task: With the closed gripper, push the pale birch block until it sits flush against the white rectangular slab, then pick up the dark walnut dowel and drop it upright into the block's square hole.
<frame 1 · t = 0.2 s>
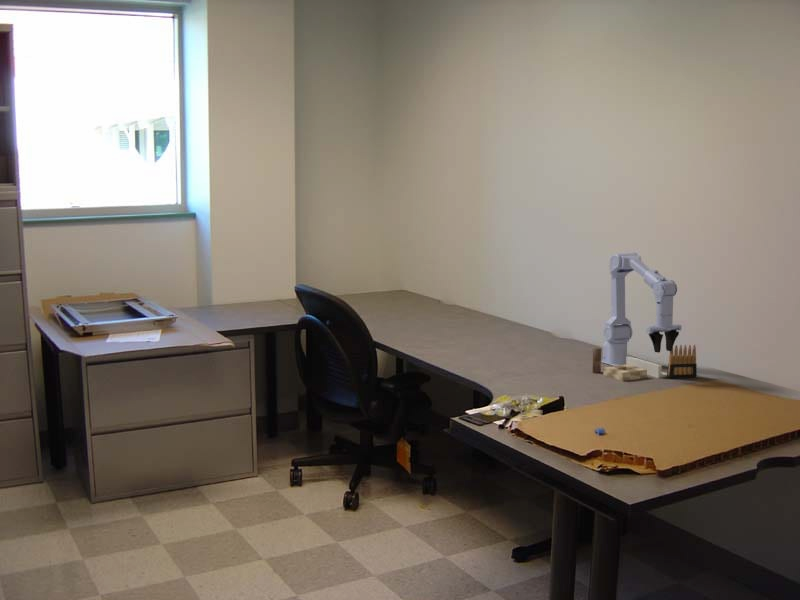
hand: (663, 351, 310), 10 cm above the table, tool pointing down, fingers open, 5 cm apart
ammunition clip: (681, 377, 313), on the table, touching gripper
block: (625, 376, 316), on the table
dowel: (596, 372, 323), on the table
white rectangular slab: (643, 372, 321), on the table
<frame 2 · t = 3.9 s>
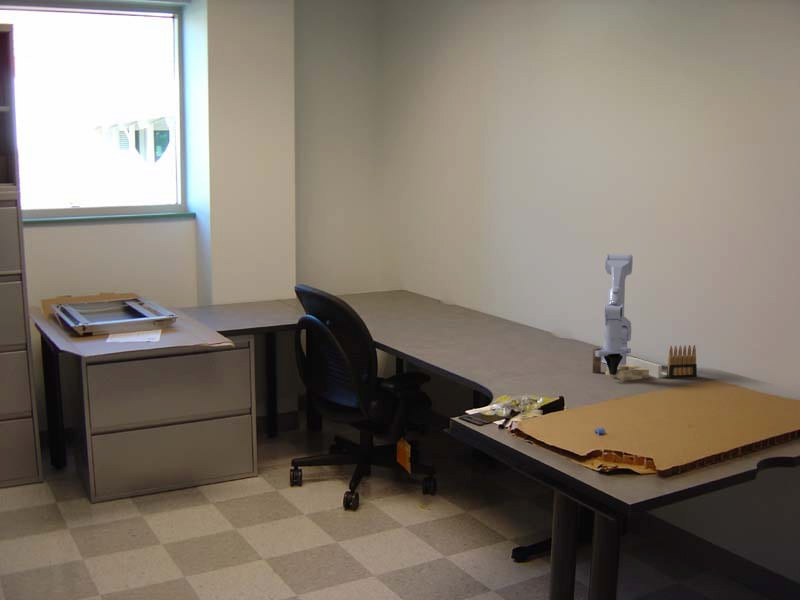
hand: (612, 374, 313), 1 cm above the table, tool pointing down, fingers closed
ammunition clip: (681, 378, 313), on the table
block: (626, 376, 316), on the table, touching gripper
everything else where it was.
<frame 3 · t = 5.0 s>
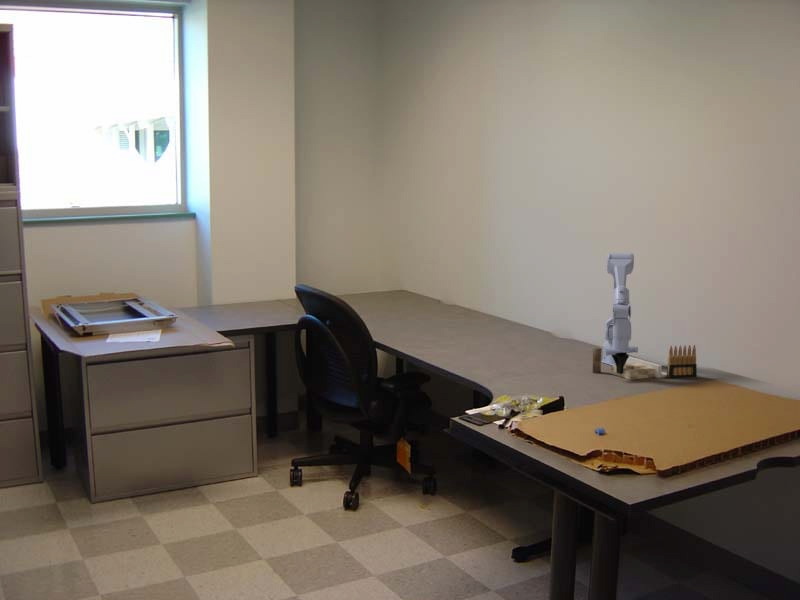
hand: (619, 373, 315), 1 cm above the table, tool pointing down, fingers closed, pressing on block
block: (632, 375, 317), on the table, touching white rectangular slab, gripper
everything else where it was.
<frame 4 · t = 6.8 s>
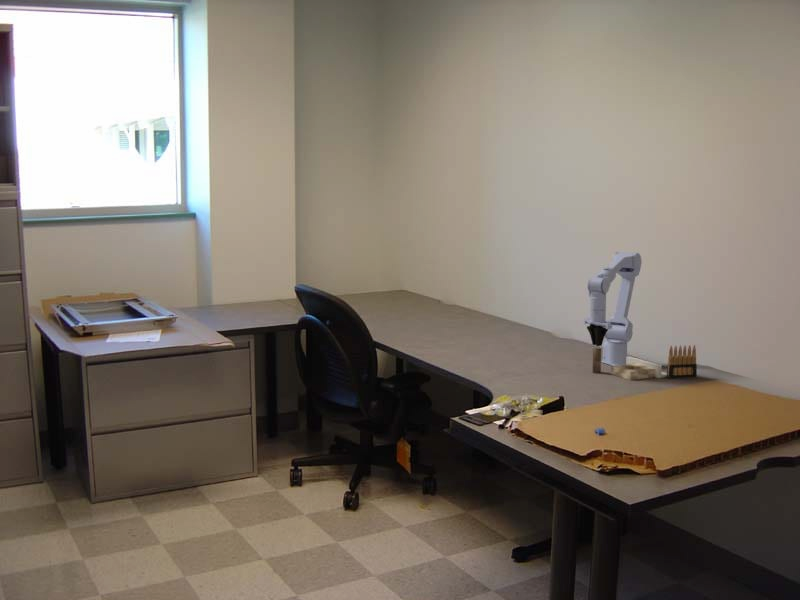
hand: (597, 345, 321), 10 cm above the table, tool pointing down, fingers closed
block: (632, 375, 317), on the table
everything else where it was.
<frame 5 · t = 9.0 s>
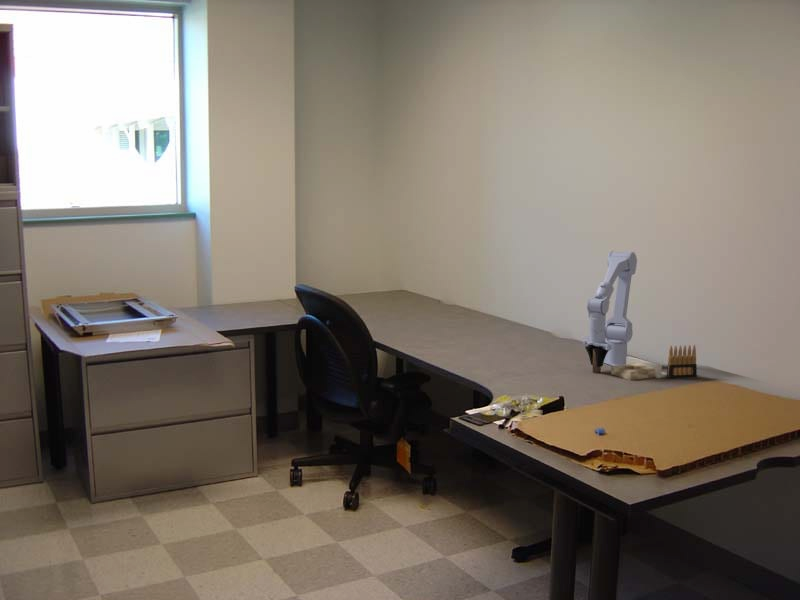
hand: (596, 365, 322), 3 cm above the table, tool pointing down, fingers closed on dowel, 3 cm apart
dowel: (596, 372, 323), on the table, touching gripper
everything else where it was.
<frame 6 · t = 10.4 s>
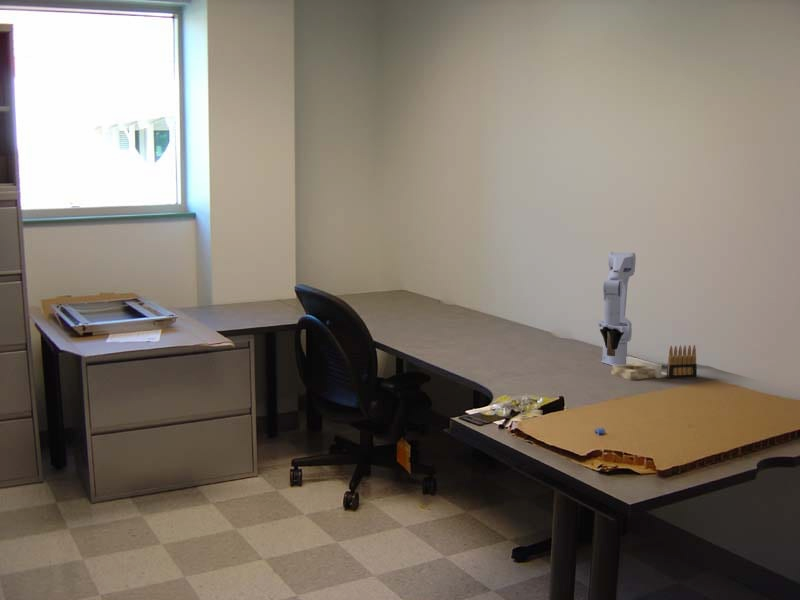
hand: (611, 348, 319), 10 cm above the table, tool pointing down, fingers closed on dowel, 3 cm apart
dowel: (610, 355, 320), point 7 cm above the table, touching gripper
everything else where it was.
when the fingers open (4 cm above the table, at t = 12.3 s): dowel drops 1 cm, resting in block.
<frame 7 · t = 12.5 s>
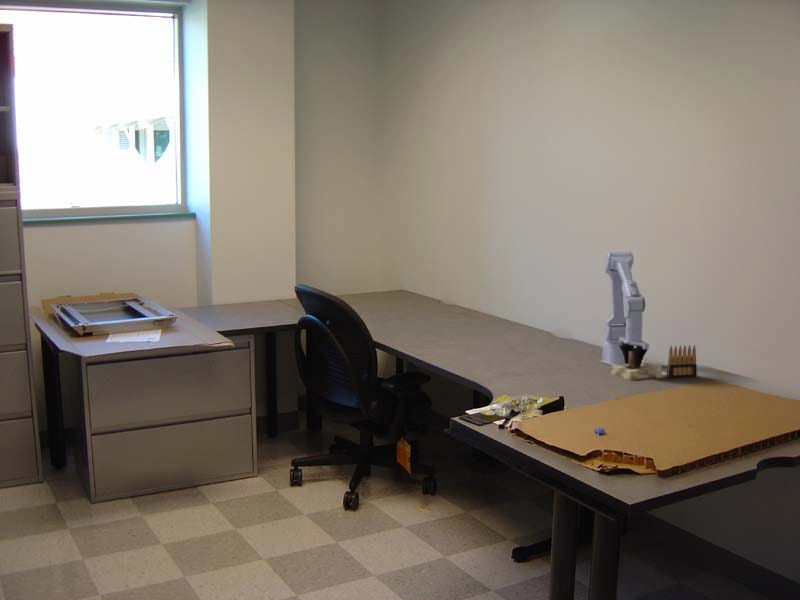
hand: (632, 365, 317), 4 cm above the table, tool pointing down, fingers open, 5 cm apart
dowel: (632, 375, 317), resting in block
everything else where it was.
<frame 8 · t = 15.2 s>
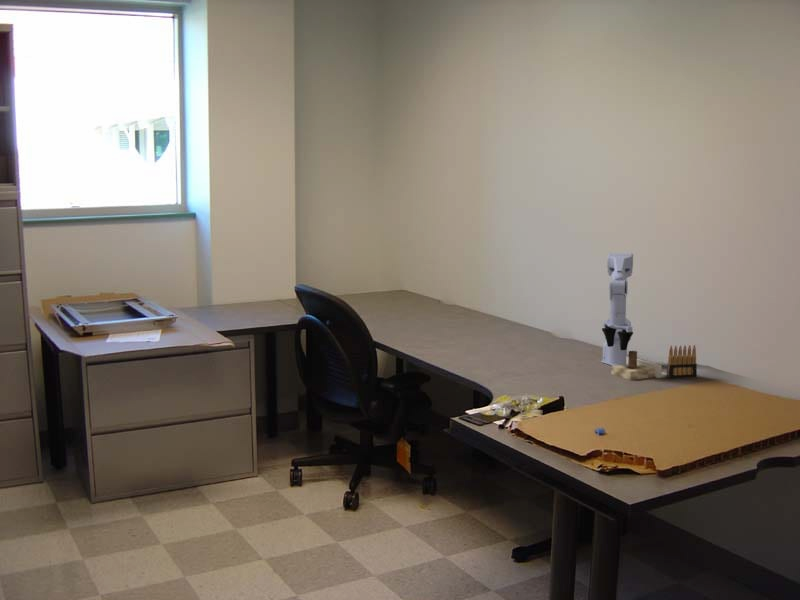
hand: (616, 348, 320), 9 cm above the table, tool pointing down, fingers open, 7 cm apart
nothing on the table moved.
at the end: block 0.1 cm from the target spot, on the table; dowel 0.2 cm off-centre on the block, point 0.0 cm above the block's base; dowel tilted 0° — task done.
